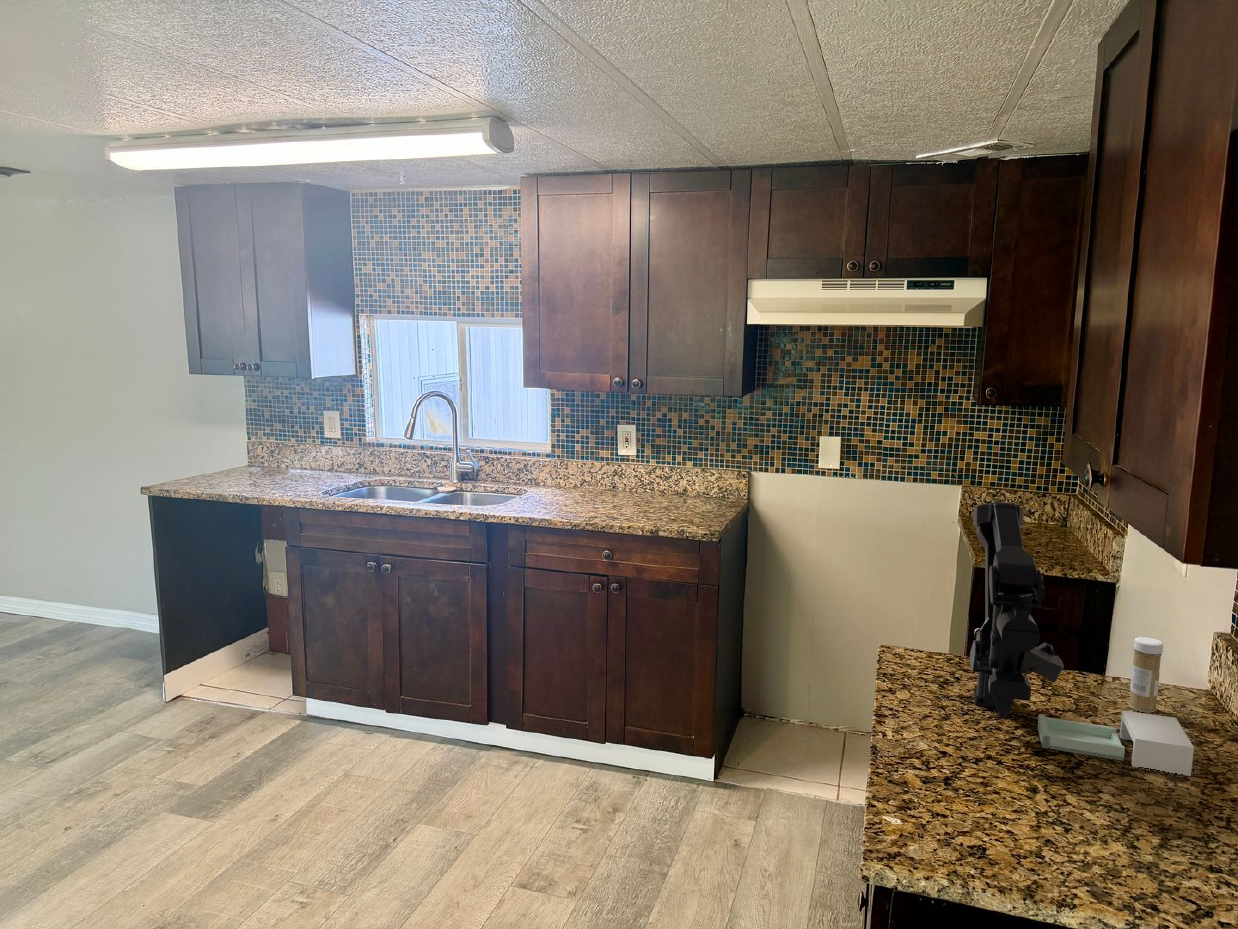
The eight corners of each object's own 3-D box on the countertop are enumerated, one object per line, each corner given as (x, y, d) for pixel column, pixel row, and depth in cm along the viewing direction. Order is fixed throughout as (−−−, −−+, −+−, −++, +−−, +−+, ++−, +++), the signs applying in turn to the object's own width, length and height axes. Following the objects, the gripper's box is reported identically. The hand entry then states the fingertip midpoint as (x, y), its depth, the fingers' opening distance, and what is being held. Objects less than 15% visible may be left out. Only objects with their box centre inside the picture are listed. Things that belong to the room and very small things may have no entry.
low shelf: (1119, 736, 147) (1122, 710, 147) (1173, 744, 144) (1176, 718, 144) (1132, 766, 137) (1135, 738, 136) (1190, 776, 134) (1194, 747, 133)
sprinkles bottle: (1162, 713, 157) (1169, 643, 155) (1141, 715, 156) (1149, 645, 154) (1141, 703, 161) (1148, 635, 159) (1121, 705, 160) (1128, 637, 158)
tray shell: (1037, 727, 150) (1038, 714, 150) (1114, 739, 146) (1116, 725, 146) (1042, 747, 143) (1043, 733, 143) (1123, 760, 139) (1125, 745, 138)
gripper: (1069, 657, 135) (1060, 749, 137) (1055, 621, 152) (1048, 703, 154) (993, 647, 139) (986, 737, 141) (988, 613, 156) (982, 694, 158)
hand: (1003, 717), depth 148 cm, fingers closed
